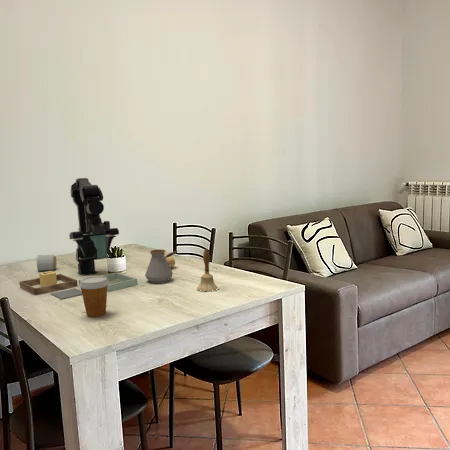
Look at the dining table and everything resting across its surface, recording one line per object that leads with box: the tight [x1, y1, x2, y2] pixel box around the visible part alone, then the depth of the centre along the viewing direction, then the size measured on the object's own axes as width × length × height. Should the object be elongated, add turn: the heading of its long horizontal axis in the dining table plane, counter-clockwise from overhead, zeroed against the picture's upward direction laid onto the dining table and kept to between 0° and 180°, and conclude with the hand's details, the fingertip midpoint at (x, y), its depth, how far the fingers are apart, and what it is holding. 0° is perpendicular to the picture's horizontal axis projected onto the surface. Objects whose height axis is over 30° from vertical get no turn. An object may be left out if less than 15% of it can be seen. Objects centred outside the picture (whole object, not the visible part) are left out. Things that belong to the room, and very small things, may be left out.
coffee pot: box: [144, 249, 180, 284], centre depth 201 cm, size 21×12×15 cm, turn 37°
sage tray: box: [78, 272, 138, 293], centre depth 201 cm, size 18×17×2 cm
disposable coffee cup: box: [78, 275, 110, 318], centre depth 163 cm, size 10×10×12 cm
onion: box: [164, 253, 176, 269], centre depth 228 cm, size 8×8×7 cm
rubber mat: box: [50, 287, 83, 300], centre depth 190 cm, size 10×10×1 cm
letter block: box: [38, 270, 58, 287], centre depth 202 cm, size 5×5×6 cm
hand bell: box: [196, 248, 219, 292], centre depth 190 cm, size 8×8×16 cm
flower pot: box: [77, 227, 108, 260], centre depth 259 cm, size 16×16×16 cm
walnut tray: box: [19, 273, 79, 296], centre depth 202 cm, size 18×17×2 cm
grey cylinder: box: [36, 254, 57, 272], centre depth 234 cm, size 11×8×8 cm
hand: (96, 255), depth 197 cm, fingers open, 9 cm apart
